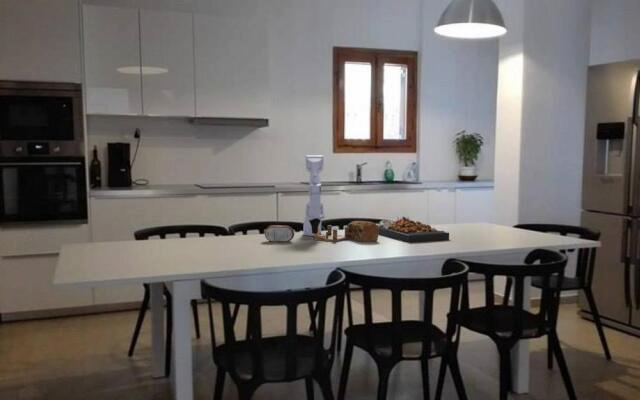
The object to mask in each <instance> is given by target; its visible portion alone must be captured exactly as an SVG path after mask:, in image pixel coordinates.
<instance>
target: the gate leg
mask: <svg viewBox="0 0 640 400" xmlns="http://www.w3.org/2000/svg"><path fill="white" fill-rule="evenodd" d="M314 237H322V238H325V237H326V234H324V235H319V227H318V232H317V234H315V236H314Z"/></svg>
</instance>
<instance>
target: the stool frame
mask: <svg viewBox="0 0 640 400" xmlns="http://www.w3.org/2000/svg"><path fill="white" fill-rule="evenodd" d="M322 234H323V233H322V232H321V233H319V235H322ZM325 235H326V237H325V238H322V237H315V236H313V240H314V241H323V242H324V241H325V242H332V243H338V242H343V241H346V240H347V241H348V240H350V239H351V236H349V227H347V226H345V227H344V235H340V234H338V228H337V229H336V228H334V229H332V225H331V224H329V225H327V231H326V232H325ZM351 240H352V239H351Z"/></svg>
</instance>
